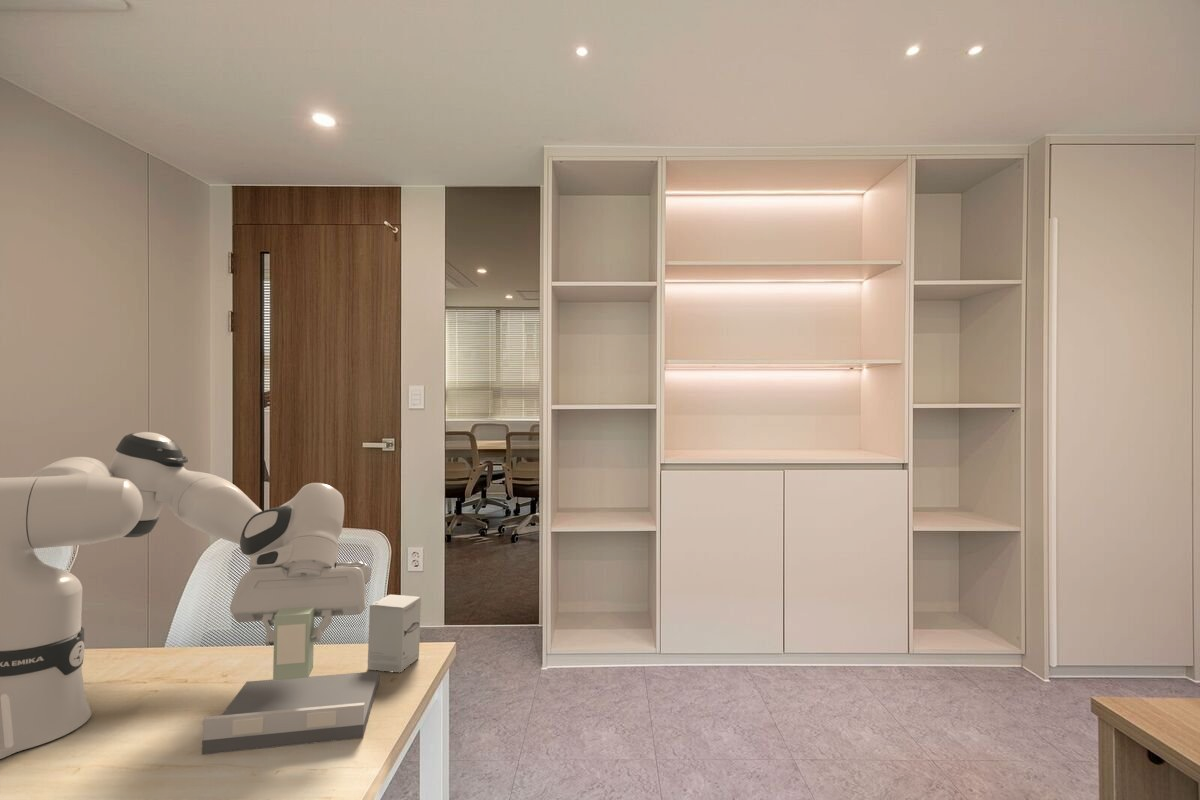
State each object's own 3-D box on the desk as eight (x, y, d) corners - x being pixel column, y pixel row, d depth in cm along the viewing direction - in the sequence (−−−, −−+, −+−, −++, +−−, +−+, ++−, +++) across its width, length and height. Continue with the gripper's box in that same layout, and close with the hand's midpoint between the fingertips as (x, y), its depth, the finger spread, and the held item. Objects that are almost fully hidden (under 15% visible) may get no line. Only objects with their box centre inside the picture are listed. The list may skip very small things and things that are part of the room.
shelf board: (200, 755, 86) (201, 720, 86) (246, 692, 105) (247, 664, 105) (362, 738, 91) (363, 705, 91) (378, 681, 110) (379, 654, 110)
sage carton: (272, 681, 92) (274, 616, 92) (279, 670, 96) (280, 608, 96) (307, 678, 93) (309, 614, 93) (313, 668, 97) (314, 606, 97)
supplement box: (401, 674, 113) (402, 607, 114) (366, 670, 115) (368, 604, 115) (420, 658, 121) (422, 596, 121) (387, 654, 122) (388, 593, 122)
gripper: (373, 570, 108) (364, 645, 99) (248, 576, 103) (226, 656, 94) (370, 551, 104) (361, 628, 94) (240, 557, 99) (216, 638, 89)
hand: (293, 642), depth 94 cm, fingers closed on sage carton, 5 cm apart
